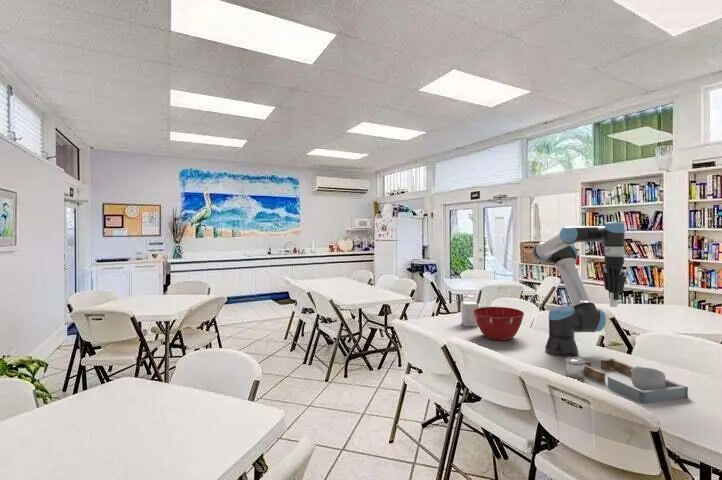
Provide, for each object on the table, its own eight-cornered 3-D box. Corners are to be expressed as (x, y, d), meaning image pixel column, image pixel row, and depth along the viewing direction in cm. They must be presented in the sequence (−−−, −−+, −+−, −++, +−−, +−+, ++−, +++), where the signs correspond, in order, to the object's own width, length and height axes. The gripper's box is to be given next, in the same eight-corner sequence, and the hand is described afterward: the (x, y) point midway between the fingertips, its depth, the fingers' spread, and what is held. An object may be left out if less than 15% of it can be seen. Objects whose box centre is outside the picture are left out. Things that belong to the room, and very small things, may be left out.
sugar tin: (561, 375, 168) (561, 357, 168) (575, 373, 169) (575, 356, 169) (573, 381, 161) (573, 363, 160) (589, 380, 162) (589, 362, 162)
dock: (607, 386, 155) (607, 376, 155) (648, 381, 159) (648, 372, 159) (643, 403, 140) (643, 392, 140) (687, 397, 144) (687, 387, 144)
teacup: (669, 399, 143) (670, 378, 143) (635, 395, 147) (635, 374, 147) (656, 385, 156) (657, 365, 156) (625, 381, 160) (625, 362, 160)
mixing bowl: (493, 346, 209) (493, 318, 209) (463, 333, 236) (463, 308, 236) (535, 341, 218) (535, 314, 217) (502, 329, 245) (501, 305, 245)
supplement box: (478, 326, 252) (478, 303, 252) (464, 326, 252) (464, 304, 252) (474, 323, 261) (474, 301, 261) (461, 323, 262) (461, 301, 261)
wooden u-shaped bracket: (576, 370, 173) (576, 362, 172) (612, 367, 176) (612, 358, 176) (601, 383, 159) (601, 373, 159) (640, 378, 163) (640, 369, 163)
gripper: (596, 254, 182) (595, 304, 183) (619, 257, 169) (618, 310, 170) (609, 254, 183) (609, 303, 184) (633, 256, 170) (632, 309, 171)
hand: (613, 306), depth 177 cm, fingers closed
